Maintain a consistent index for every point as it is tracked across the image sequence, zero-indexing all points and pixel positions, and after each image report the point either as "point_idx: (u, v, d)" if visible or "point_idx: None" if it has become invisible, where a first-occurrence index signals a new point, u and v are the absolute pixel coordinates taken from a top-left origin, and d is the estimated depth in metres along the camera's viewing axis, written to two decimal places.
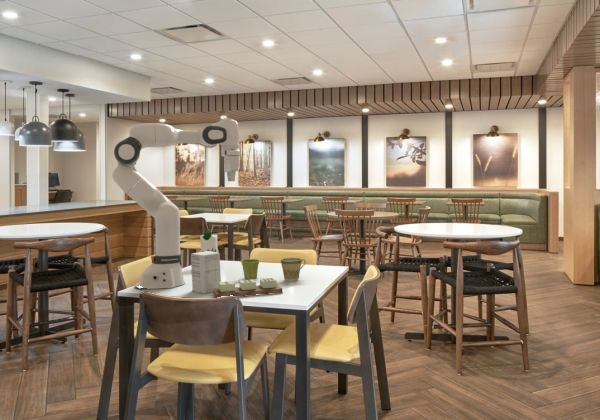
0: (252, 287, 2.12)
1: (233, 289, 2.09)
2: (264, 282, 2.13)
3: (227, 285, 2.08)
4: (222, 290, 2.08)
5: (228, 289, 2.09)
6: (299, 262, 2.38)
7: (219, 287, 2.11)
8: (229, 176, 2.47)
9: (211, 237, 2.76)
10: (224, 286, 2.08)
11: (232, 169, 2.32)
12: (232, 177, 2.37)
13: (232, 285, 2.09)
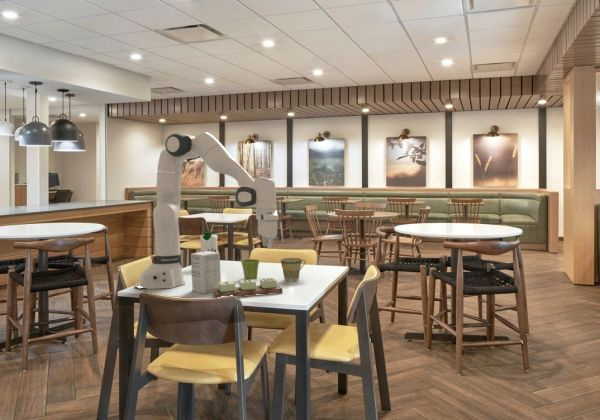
0: (252, 287, 2.12)
1: (233, 289, 2.09)
2: (264, 282, 2.13)
3: (227, 285, 2.08)
4: (222, 290, 2.08)
5: (228, 289, 2.09)
6: (299, 262, 2.38)
7: (219, 287, 2.11)
8: (264, 240, 2.20)
9: (211, 237, 2.76)
10: (224, 286, 2.08)
11: (270, 236, 2.06)
12: (269, 244, 2.11)
13: (232, 285, 2.09)
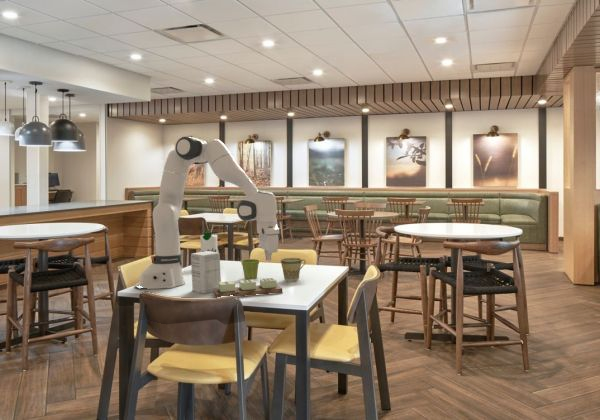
0: (252, 287, 2.12)
1: (233, 289, 2.09)
2: (264, 282, 2.13)
3: (227, 285, 2.08)
4: (222, 290, 2.08)
5: (228, 289, 2.09)
6: (299, 262, 2.38)
7: (219, 287, 2.11)
8: None
9: (211, 237, 2.76)
10: (224, 286, 2.08)
11: (271, 250, 2.06)
12: (268, 256, 2.14)
13: (232, 285, 2.09)
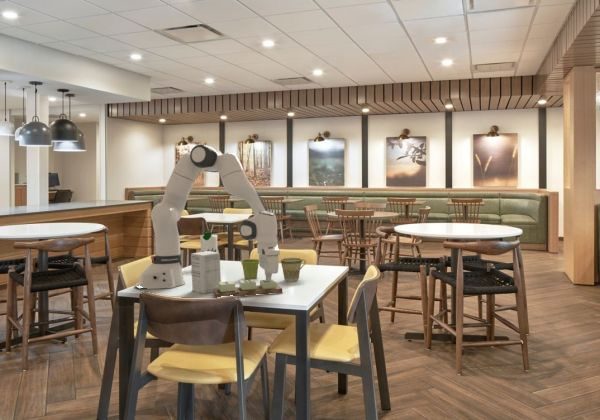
0: (252, 287, 2.12)
1: (233, 289, 2.09)
2: (264, 283, 2.13)
3: (227, 285, 2.08)
4: (222, 290, 2.08)
5: (228, 289, 2.09)
6: (299, 262, 2.38)
7: (219, 287, 2.11)
8: None
9: (211, 237, 2.76)
10: (224, 286, 2.08)
11: (271, 271, 2.07)
12: (268, 277, 2.15)
13: (232, 285, 2.09)
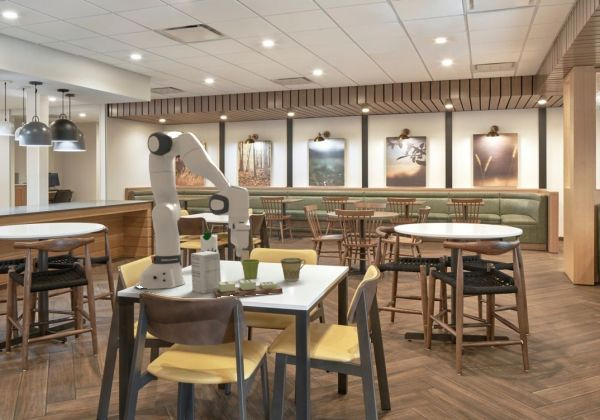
0: (252, 287, 2.12)
1: (233, 289, 2.09)
2: (264, 286, 2.13)
3: (227, 285, 2.08)
4: (222, 290, 2.08)
5: (228, 289, 2.09)
6: (299, 262, 2.38)
7: (219, 287, 2.11)
8: None
9: (211, 237, 2.76)
10: (224, 286, 2.08)
11: (241, 246, 2.03)
12: (238, 252, 2.11)
13: (232, 285, 2.09)
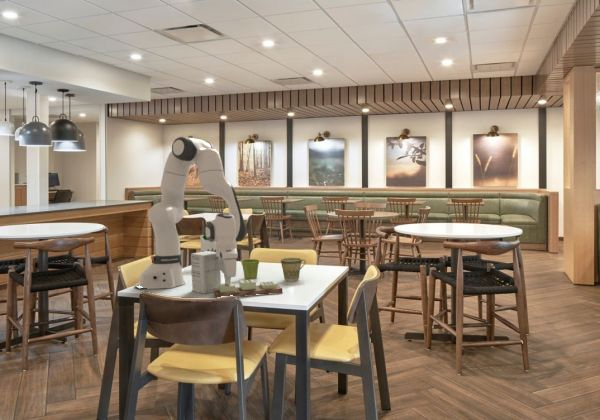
0: (252, 287, 2.12)
1: (233, 291, 2.09)
2: (264, 286, 2.13)
3: (227, 287, 2.08)
4: (222, 292, 2.08)
5: (228, 291, 2.09)
6: (299, 262, 2.38)
7: (219, 289, 2.11)
8: None
9: None
10: (224, 288, 2.08)
11: (229, 275, 2.01)
12: (227, 280, 2.10)
13: (232, 287, 2.09)
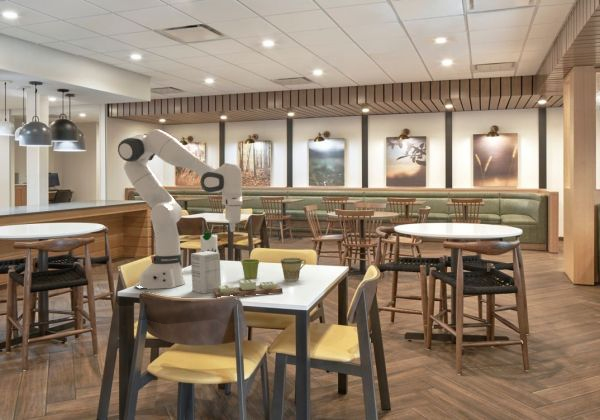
0: (252, 287, 2.12)
1: None
2: (264, 286, 2.13)
3: (227, 289, 2.08)
4: None
5: None
6: (299, 262, 2.38)
7: (219, 291, 2.11)
8: None
9: (211, 237, 2.76)
10: (224, 290, 2.08)
11: (233, 221, 2.11)
12: (232, 227, 2.20)
13: (232, 289, 2.09)
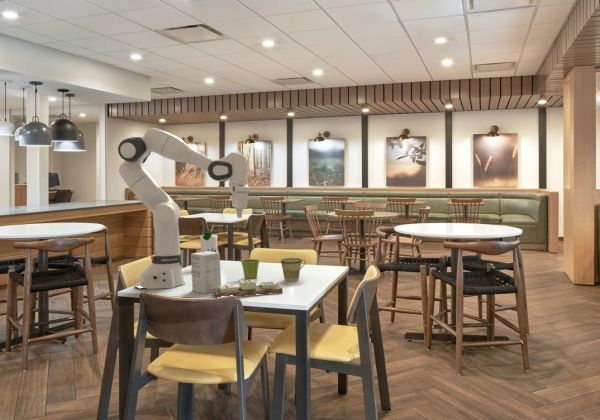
0: (252, 287, 2.12)
1: None
2: (264, 286, 2.13)
3: (227, 289, 2.08)
4: None
5: None
6: (299, 262, 2.38)
7: (219, 291, 2.11)
8: None
9: (211, 237, 2.76)
10: (224, 290, 2.08)
11: (241, 206, 2.22)
12: (239, 213, 2.30)
13: (232, 289, 2.09)
